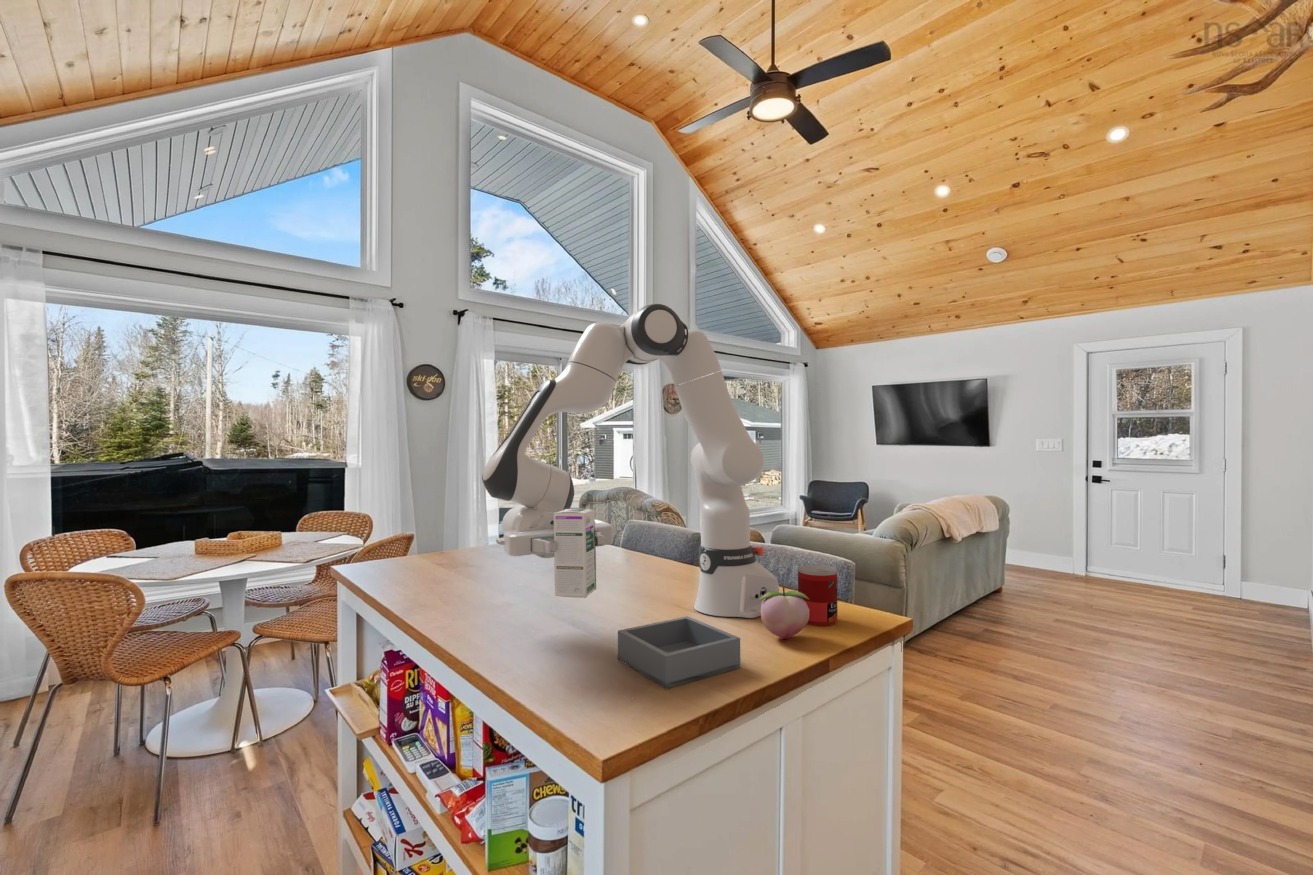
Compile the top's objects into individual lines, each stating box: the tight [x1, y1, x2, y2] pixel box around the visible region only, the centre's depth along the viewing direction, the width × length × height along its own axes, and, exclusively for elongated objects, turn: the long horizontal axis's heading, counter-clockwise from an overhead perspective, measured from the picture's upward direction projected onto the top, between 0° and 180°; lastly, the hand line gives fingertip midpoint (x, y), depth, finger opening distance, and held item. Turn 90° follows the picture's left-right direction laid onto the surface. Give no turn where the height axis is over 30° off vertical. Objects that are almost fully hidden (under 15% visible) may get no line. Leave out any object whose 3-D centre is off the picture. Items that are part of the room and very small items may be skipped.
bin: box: [617, 615, 741, 690], centre depth 102 cm, size 15×15×5 cm
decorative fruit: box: [759, 586, 809, 640], centre depth 114 cm, size 9×8×10 cm
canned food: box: [797, 564, 838, 627], centre depth 125 cm, size 8×8×11 cm
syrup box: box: [553, 507, 597, 599], centre depth 103 cm, size 6×6×14 cm
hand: (577, 544), depth 103 cm, fingers closed on syrup box, 8 cm apart
